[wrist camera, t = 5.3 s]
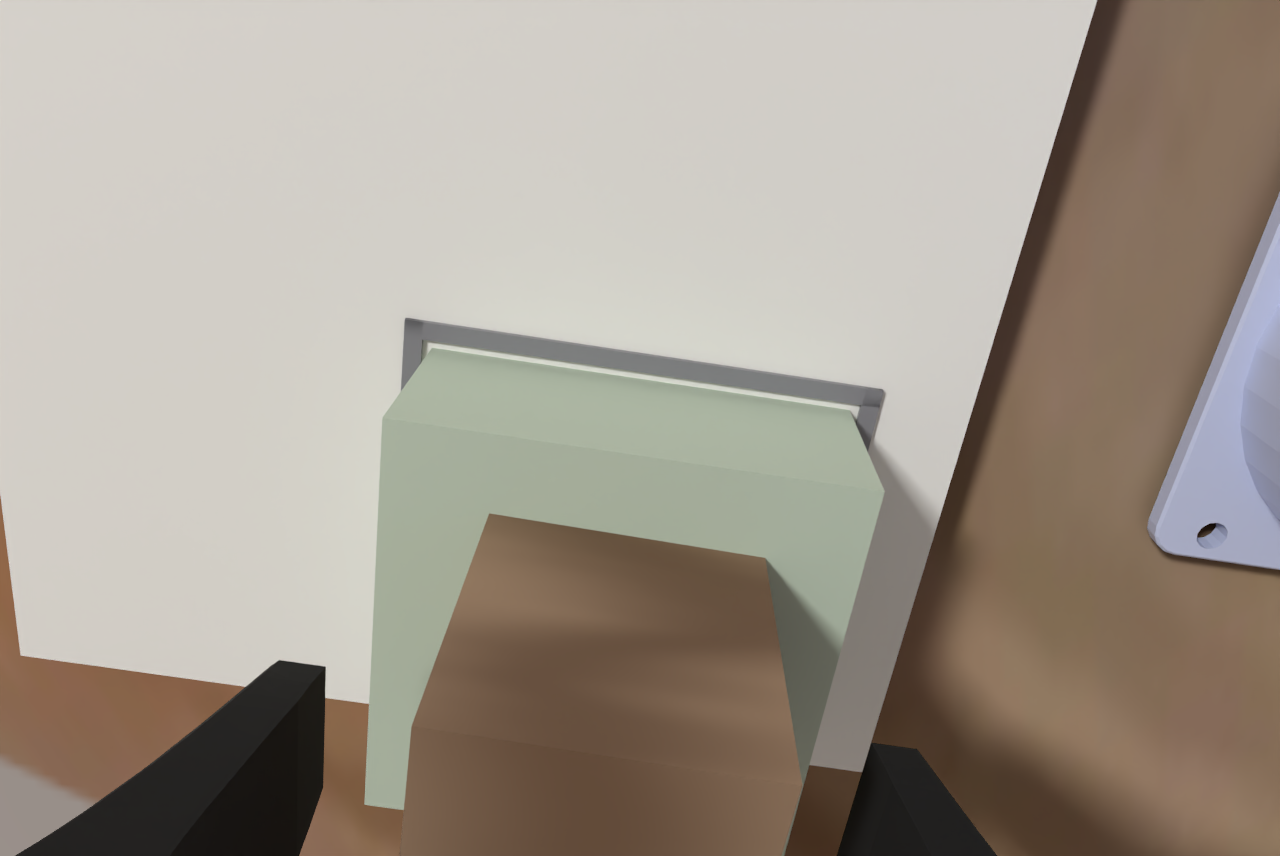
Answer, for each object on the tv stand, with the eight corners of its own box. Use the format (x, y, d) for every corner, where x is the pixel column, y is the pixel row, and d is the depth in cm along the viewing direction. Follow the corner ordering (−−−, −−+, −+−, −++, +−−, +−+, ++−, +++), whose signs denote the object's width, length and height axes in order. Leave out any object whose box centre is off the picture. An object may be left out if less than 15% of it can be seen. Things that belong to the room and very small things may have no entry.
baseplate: (1136, -224, 14) (1173, -241, 13) (853, 737, 20) (862, 776, 19) (-65, -426, 13) (-126, -462, 12) (51, 625, 20) (17, 658, 19)
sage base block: (849, 410, 16) (884, 491, 14) (767, 738, 19) (782, 861, 16) (432, 347, 16) (382, 417, 13) (409, 688, 19) (364, 804, 16)
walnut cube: (765, 557, 14) (802, 785, 10) (711, 771, 16) (724, 1044, 12) (489, 513, 14) (411, 726, 10) (463, 733, 16) (386, 996, 11)
